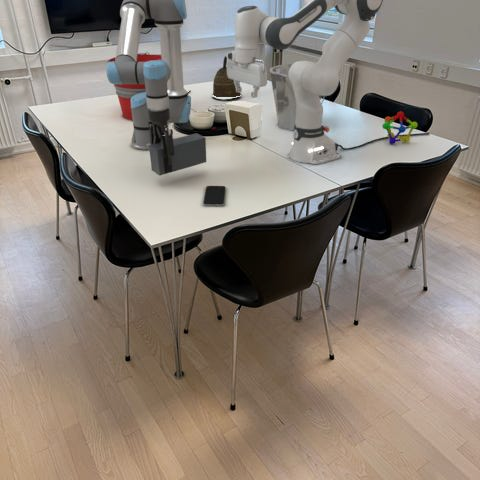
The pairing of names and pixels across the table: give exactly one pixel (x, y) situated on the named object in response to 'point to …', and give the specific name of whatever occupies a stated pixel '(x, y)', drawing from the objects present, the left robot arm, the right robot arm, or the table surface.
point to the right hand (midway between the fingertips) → (246, 94)
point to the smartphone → (214, 196)
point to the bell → (224, 83)
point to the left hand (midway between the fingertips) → (164, 169)
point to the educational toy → (398, 128)
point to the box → (179, 153)
